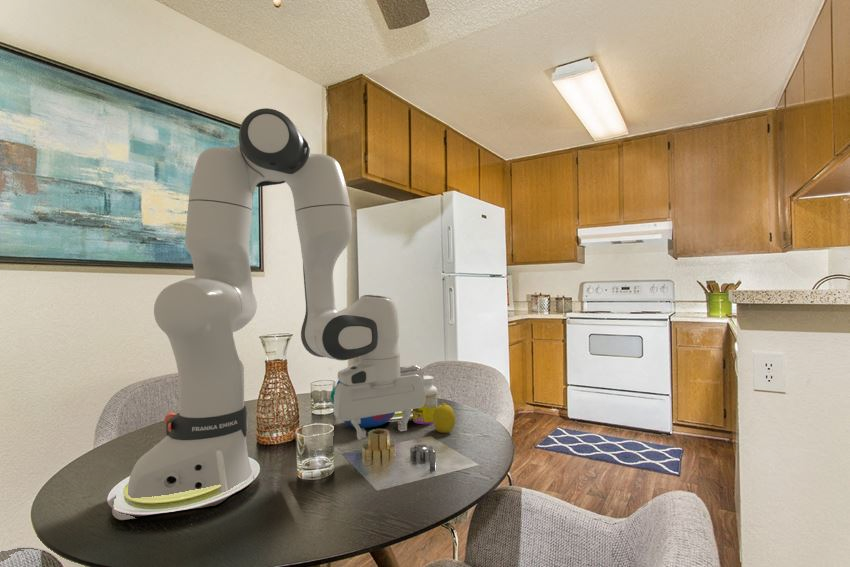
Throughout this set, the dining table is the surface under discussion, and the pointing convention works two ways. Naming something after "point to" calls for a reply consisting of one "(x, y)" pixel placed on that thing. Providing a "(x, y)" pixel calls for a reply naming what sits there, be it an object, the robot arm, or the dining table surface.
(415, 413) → the supplement bottle
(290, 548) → the dining table surface
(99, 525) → the dining table surface
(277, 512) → the dining table surface
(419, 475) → the plate
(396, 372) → the robot arm
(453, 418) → the lemon
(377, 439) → the gear
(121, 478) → the dining table surface
